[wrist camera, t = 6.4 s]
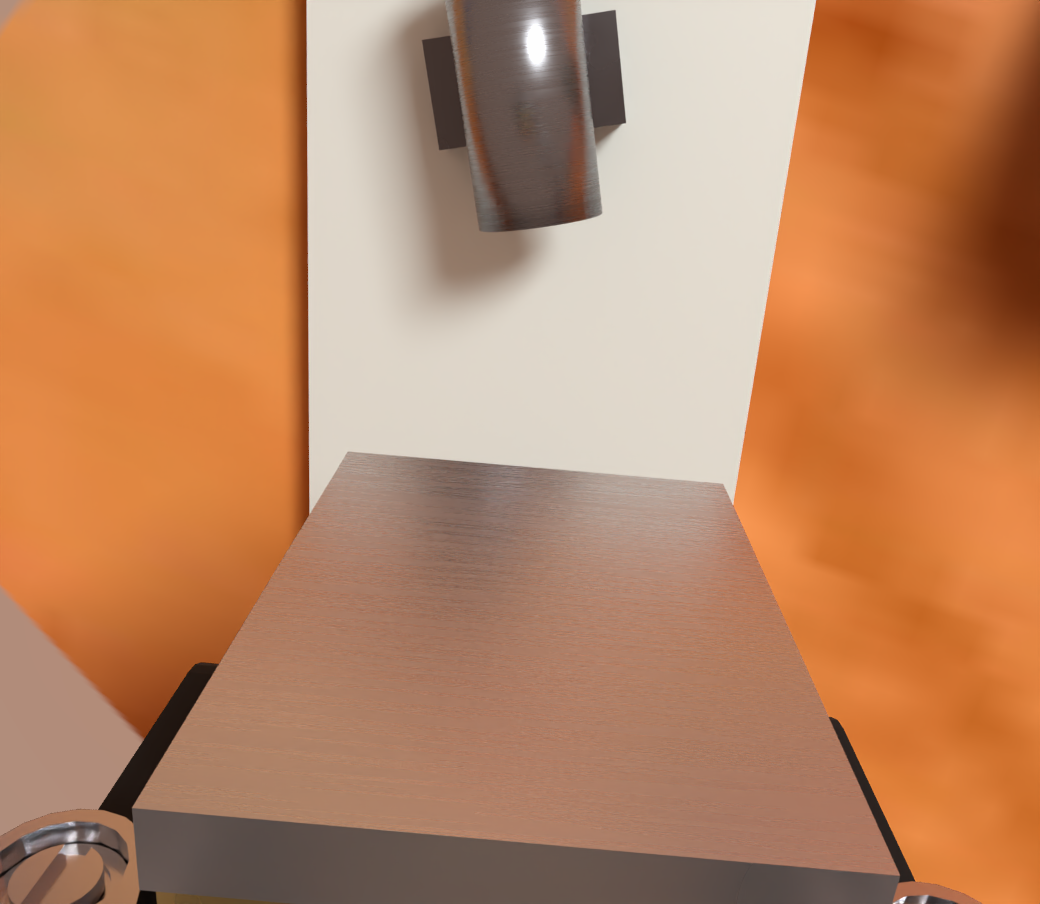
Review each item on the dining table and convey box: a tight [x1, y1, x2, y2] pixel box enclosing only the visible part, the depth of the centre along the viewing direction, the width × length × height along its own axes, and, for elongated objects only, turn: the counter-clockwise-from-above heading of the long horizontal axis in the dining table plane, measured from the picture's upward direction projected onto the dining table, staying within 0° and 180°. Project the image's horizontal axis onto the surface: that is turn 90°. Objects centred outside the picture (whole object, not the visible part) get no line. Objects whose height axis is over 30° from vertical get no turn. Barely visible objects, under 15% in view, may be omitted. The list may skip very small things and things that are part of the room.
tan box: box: [132, 451, 900, 904], centre depth 9 cm, size 6×4×6 cm
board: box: [307, 0, 816, 513], centre depth 25 cm, size 21×12×1 cm, turn 176°
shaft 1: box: [422, 0, 626, 232], centre depth 20 cm, size 6×4×4 cm
